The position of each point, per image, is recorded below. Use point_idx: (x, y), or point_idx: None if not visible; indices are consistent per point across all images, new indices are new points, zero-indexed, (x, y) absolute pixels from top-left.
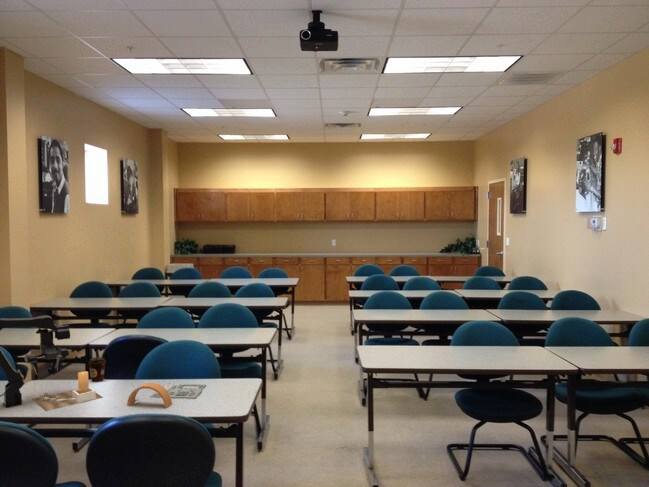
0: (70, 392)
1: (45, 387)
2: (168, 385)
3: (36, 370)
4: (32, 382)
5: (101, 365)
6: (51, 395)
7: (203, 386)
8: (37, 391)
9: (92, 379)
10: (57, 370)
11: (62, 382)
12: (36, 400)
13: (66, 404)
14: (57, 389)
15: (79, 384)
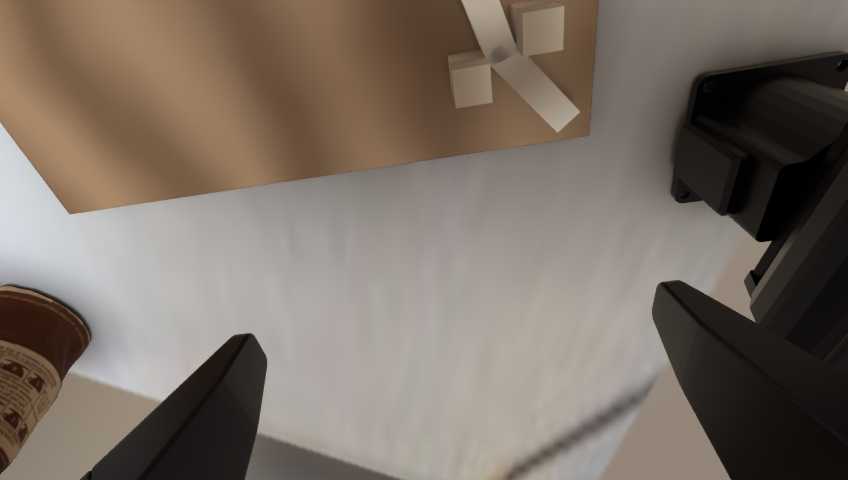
0: (213, 130)
1: (416, 379)
2: None
3: (785, 347)
4: (469, 470)
5: None
6: (402, 139)
7: None
8: (478, 335)
9: (45, 334)
10: (255, 342)
11: (308, 413)
12: (568, 52)
13: None
14: (342, 310)
15: None
